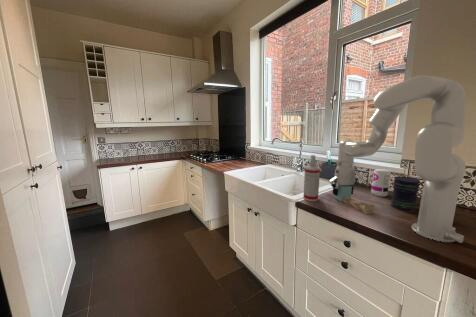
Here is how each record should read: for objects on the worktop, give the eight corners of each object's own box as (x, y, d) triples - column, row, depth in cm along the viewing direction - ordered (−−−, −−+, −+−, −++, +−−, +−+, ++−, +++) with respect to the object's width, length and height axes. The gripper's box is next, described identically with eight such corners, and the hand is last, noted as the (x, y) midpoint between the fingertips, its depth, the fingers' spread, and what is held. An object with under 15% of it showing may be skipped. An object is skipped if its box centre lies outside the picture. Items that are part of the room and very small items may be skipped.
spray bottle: (300, 198, 117) (302, 154, 113) (308, 195, 122) (311, 153, 117) (312, 202, 111) (315, 156, 107) (320, 199, 116) (323, 155, 111)
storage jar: (420, 212, 98) (425, 182, 95) (396, 210, 100) (401, 181, 97) (407, 204, 108) (411, 176, 105) (386, 203, 110) (390, 175, 107)
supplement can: (373, 196, 120) (376, 171, 117) (369, 191, 127) (371, 168, 125) (389, 197, 117) (393, 172, 115) (384, 192, 125) (387, 168, 122)
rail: (373, 213, 98) (375, 198, 96) (366, 214, 97) (367, 199, 95) (339, 196, 120) (340, 184, 118) (333, 197, 119) (334, 184, 117)
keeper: (350, 200, 113) (352, 186, 111) (341, 201, 111) (342, 187, 110) (344, 197, 117) (345, 183, 116) (334, 198, 116) (335, 184, 115)
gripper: (336, 166, 105) (333, 198, 108) (364, 164, 109) (361, 195, 112) (326, 163, 113) (324, 193, 116) (353, 161, 116) (350, 190, 119)
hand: (342, 194), depth 114 cm, fingers open, 9 cm apart
